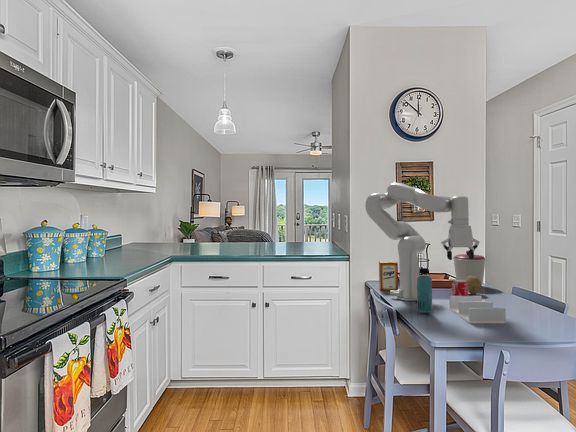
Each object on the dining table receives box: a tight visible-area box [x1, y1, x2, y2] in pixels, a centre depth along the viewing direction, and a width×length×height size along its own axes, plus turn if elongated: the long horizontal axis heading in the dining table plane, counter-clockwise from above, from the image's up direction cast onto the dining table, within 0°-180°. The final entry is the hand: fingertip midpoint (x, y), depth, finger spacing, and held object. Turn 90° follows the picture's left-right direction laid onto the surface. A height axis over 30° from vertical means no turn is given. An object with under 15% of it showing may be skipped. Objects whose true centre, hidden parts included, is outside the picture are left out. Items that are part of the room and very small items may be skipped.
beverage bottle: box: [416, 267, 433, 313], centre depth 180 cm, size 6×7×20 cm
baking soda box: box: [378, 260, 399, 292], centre depth 234 cm, size 10×6×16 cm
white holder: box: [448, 295, 507, 324], centre depth 176 cm, size 14×23×6 cm, turn 178°
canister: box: [452, 249, 487, 286], centre depth 240 cm, size 18×18×21 cm
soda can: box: [451, 278, 469, 296], centre depth 194 cm, size 7×7×12 cm
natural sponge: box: [465, 276, 482, 296], centre depth 218 cm, size 9×9×10 cm
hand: (460, 259), depth 193 cm, fingers open, 9 cm apart
